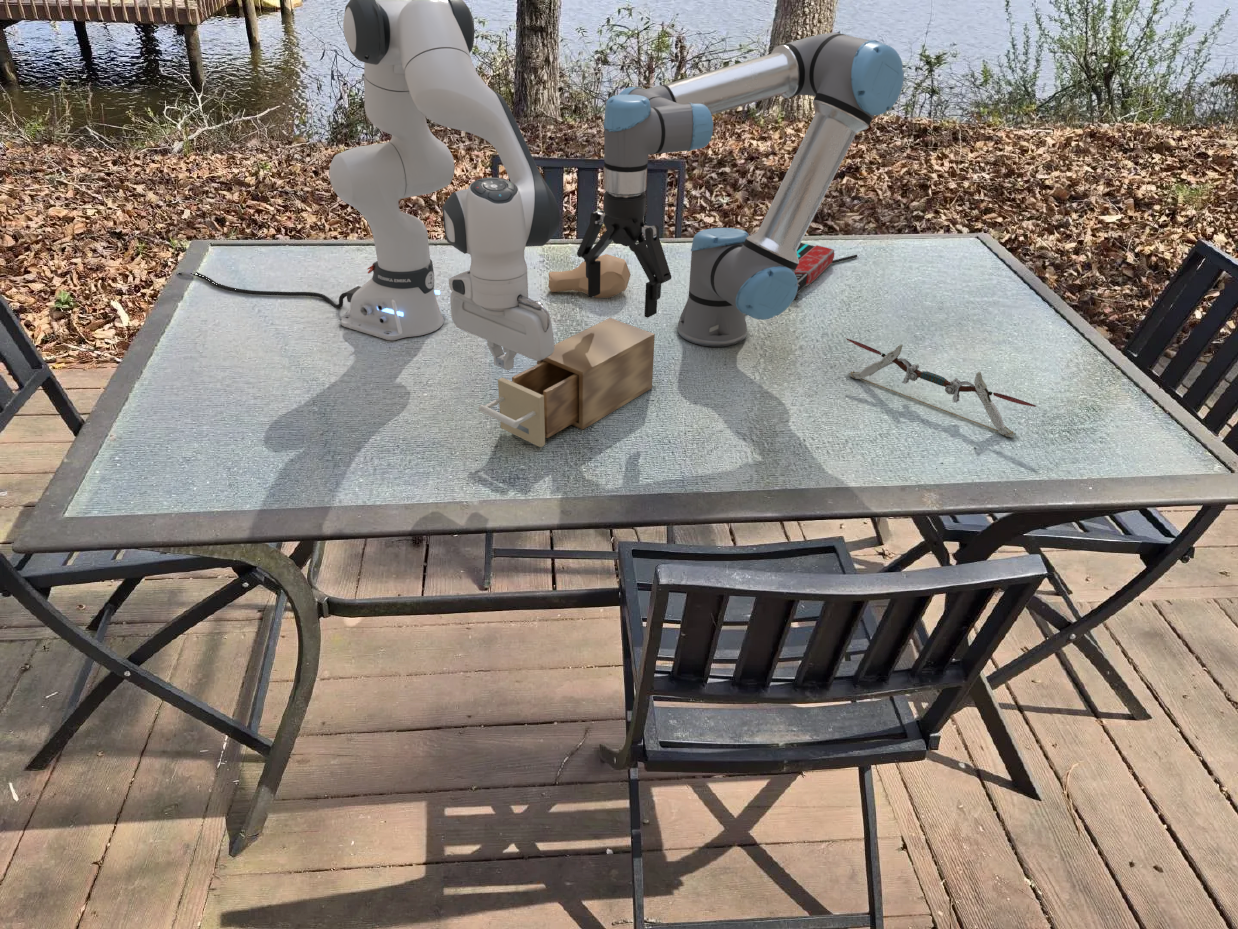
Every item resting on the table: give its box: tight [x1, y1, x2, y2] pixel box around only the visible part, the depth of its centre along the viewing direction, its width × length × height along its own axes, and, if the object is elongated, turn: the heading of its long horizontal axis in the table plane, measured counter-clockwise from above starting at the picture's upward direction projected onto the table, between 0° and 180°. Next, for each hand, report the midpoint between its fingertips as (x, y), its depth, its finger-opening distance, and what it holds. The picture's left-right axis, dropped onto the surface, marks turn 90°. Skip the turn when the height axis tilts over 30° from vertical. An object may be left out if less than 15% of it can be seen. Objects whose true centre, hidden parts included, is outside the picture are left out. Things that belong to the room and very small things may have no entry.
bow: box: [845, 337, 1037, 438], centre depth 168 cm, size 39×2×10 cm, turn 47°
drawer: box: [478, 361, 579, 448], centre depth 157 cm, size 25×10×10 cm, turn 141°
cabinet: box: [536, 317, 656, 430], centre depth 166 cm, size 21×11×12 cm, turn 141°
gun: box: [794, 242, 835, 300], centre depth 224 cm, size 4×31×19 cm
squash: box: [547, 253, 631, 299], centre depth 210 cm, size 11×20×9 cm, turn 90°
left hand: (504, 366), depth 145 cm, fingers closed
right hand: (621, 305), depth 165 cm, fingers open, 13 cm apart
